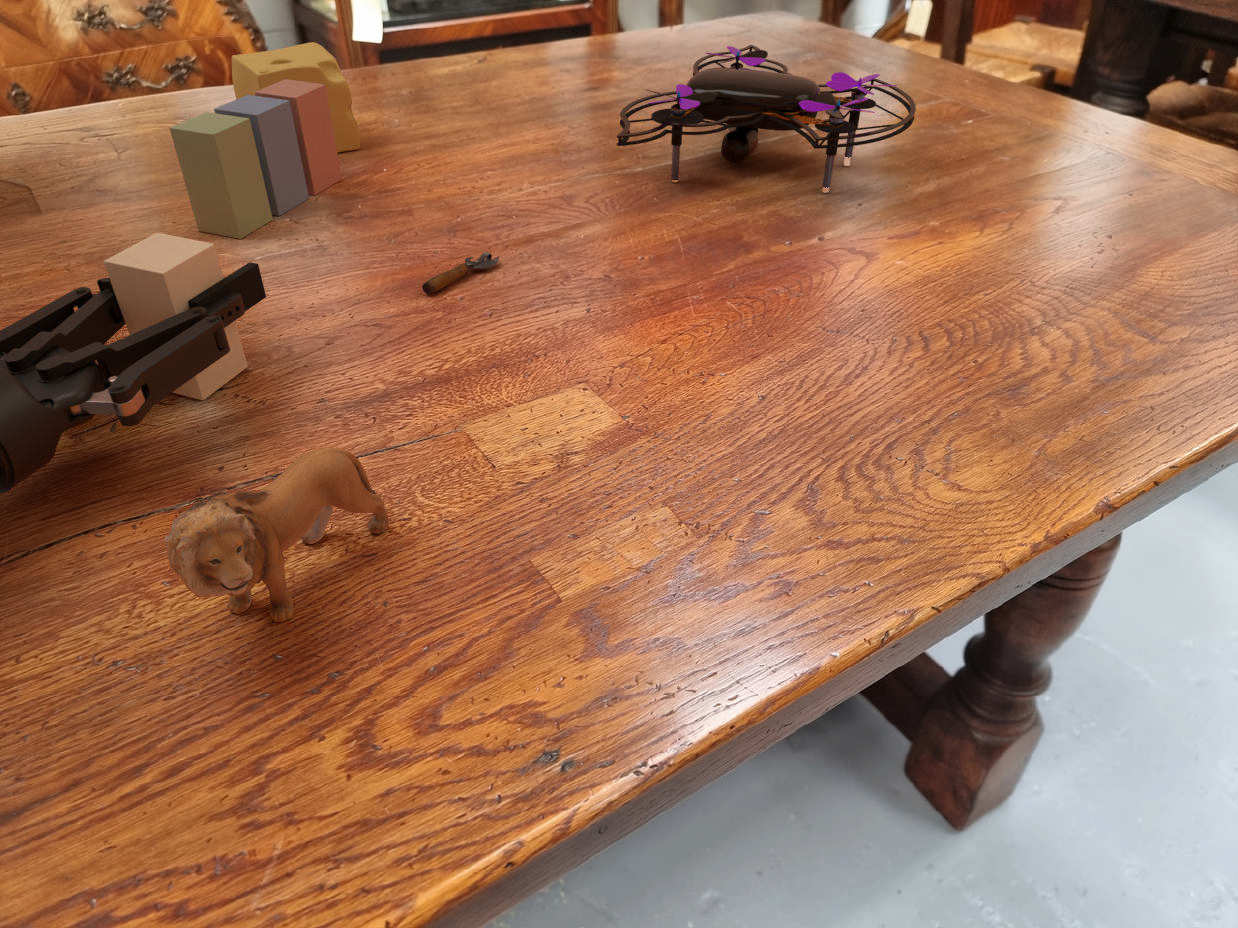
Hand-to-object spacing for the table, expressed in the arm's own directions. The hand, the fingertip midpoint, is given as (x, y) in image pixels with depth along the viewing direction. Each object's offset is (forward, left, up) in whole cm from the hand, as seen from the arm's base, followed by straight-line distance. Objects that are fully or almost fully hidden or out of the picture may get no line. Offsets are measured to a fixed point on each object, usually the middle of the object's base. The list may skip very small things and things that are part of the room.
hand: (226, 273), depth 69 cm
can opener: (+10, +17, -6) cm, 21 cm away
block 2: (0, -5, -6) cm, 8 cm away
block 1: (-16, +19, -6) cm, 25 cm away
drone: (+30, +55, -6) cm, 63 cm away
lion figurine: (+20, -20, -6) cm, 29 cm away
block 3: (-16, +25, -6) cm, 30 cm away
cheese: (-24, +41, -6) cm, 48 cm away
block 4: (-16, +31, -6) cm, 35 cm away
